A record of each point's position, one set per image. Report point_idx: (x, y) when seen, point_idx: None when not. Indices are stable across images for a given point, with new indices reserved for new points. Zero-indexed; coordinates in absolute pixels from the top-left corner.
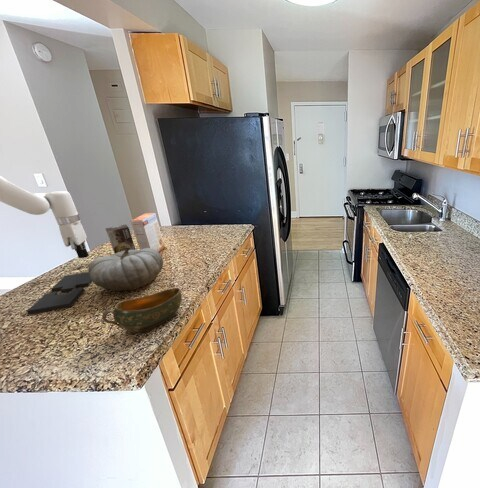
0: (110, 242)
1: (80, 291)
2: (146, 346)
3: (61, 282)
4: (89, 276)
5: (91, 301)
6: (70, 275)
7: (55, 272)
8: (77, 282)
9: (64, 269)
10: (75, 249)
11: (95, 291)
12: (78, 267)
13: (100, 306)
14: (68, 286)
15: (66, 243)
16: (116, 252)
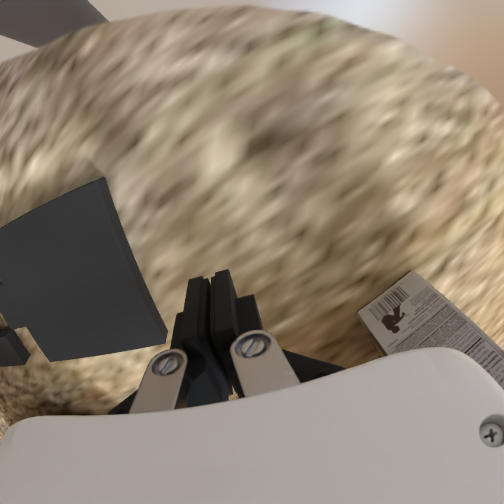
0: (466, 334)
1: (10, 365)
2: None
3: (23, 239)
4: (96, 340)
5: (10, 393)
6: (95, 218)
7: (220, 19)
8: (40, 321)
9: (266, 44)
10: (134, 393)
11: (41, 386)
12: (288, 123)
13: (11, 413)
14: (9, 305)
15: (10, 484)
16: (380, 348)
